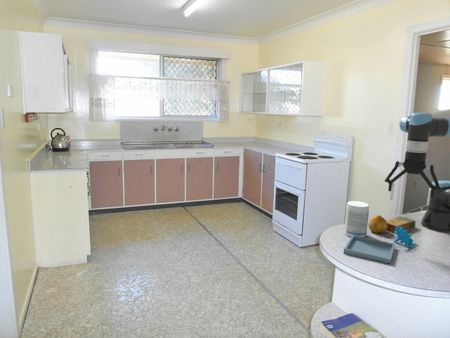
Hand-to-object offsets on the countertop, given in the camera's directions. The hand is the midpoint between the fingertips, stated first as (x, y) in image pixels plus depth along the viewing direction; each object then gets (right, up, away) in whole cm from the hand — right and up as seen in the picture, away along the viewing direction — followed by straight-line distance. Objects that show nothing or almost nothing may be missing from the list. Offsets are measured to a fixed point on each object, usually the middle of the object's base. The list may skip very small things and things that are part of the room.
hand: (409, 201), depth 148 cm
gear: (0, -19, +4) cm, 19 cm away
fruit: (-6, -16, +18) cm, 25 cm away
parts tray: (-18, -20, -3) cm, 27 cm away
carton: (+7, -15, +23) cm, 29 cm away
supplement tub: (-18, -16, +14) cm, 28 cm away
